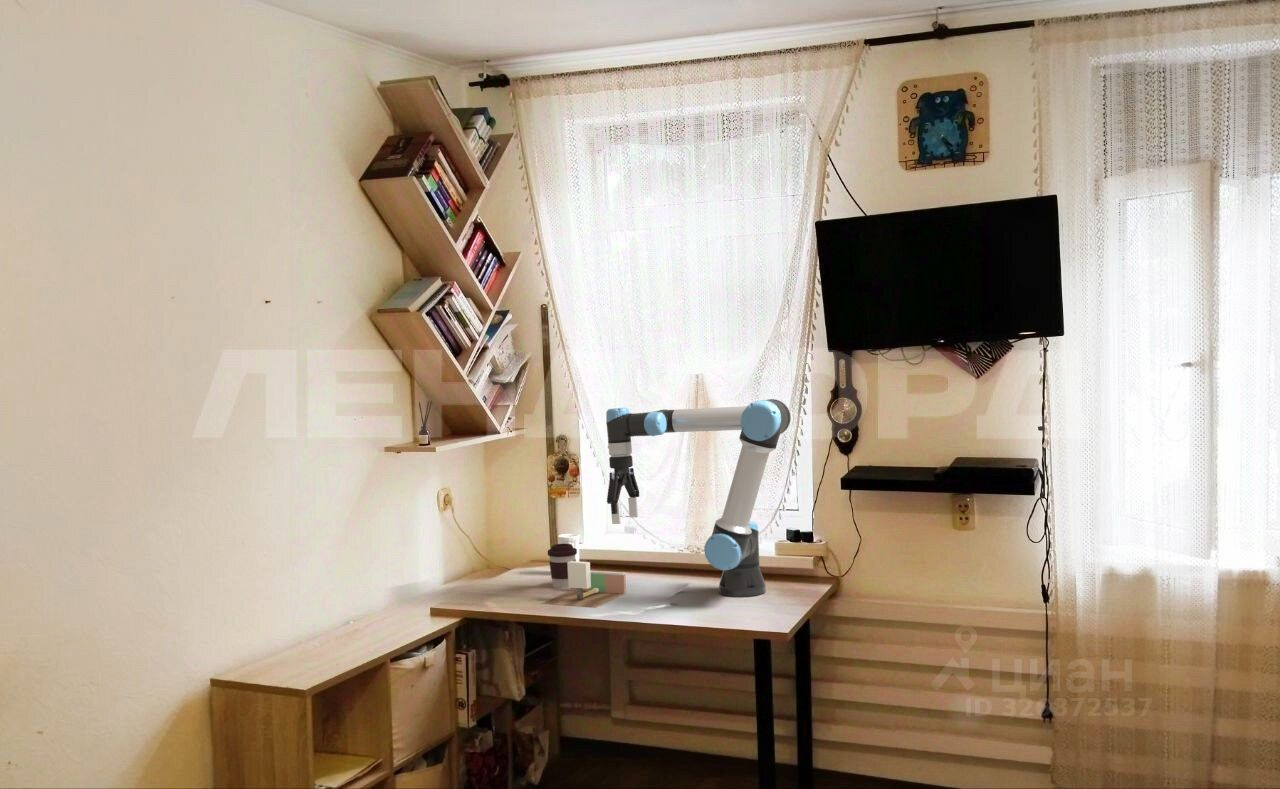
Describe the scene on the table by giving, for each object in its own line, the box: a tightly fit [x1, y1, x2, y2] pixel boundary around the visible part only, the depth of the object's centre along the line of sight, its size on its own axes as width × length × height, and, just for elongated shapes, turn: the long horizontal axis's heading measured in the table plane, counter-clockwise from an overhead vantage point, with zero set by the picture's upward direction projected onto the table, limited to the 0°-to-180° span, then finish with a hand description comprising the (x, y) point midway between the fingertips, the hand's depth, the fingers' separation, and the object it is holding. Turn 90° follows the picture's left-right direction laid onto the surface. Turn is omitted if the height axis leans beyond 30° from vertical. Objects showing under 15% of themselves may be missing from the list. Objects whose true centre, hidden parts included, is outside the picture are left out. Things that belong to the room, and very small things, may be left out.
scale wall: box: [570, 570, 627, 595], centre depth 334 cm, size 20×1×7 cm, turn 64°
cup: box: [557, 533, 581, 561], centre depth 369 cm, size 8×8×14 cm
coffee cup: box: [547, 543, 577, 589], centre depth 345 cm, size 10×10×15 cm
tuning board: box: [539, 589, 624, 609], centre depth 325 cm, size 20×21×1 cm
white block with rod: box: [567, 560, 599, 601], centre depth 326 cm, size 11×7×12 cm, turn 150°
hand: (625, 520), depth 330 cm, fingers open, 13 cm apart
